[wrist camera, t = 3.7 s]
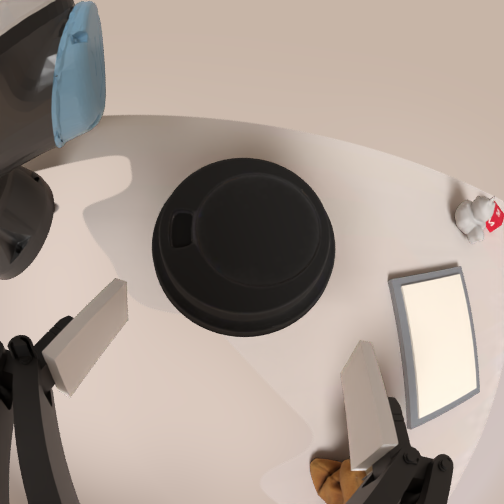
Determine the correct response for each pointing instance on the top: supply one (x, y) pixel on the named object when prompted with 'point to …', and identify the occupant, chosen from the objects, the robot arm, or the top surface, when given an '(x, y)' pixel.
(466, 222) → the light grey lumpy piece
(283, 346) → the top surface
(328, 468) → the stuffed squirrel
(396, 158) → the top surface
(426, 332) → the picture frame
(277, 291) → the coffee cup
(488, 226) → the dice
